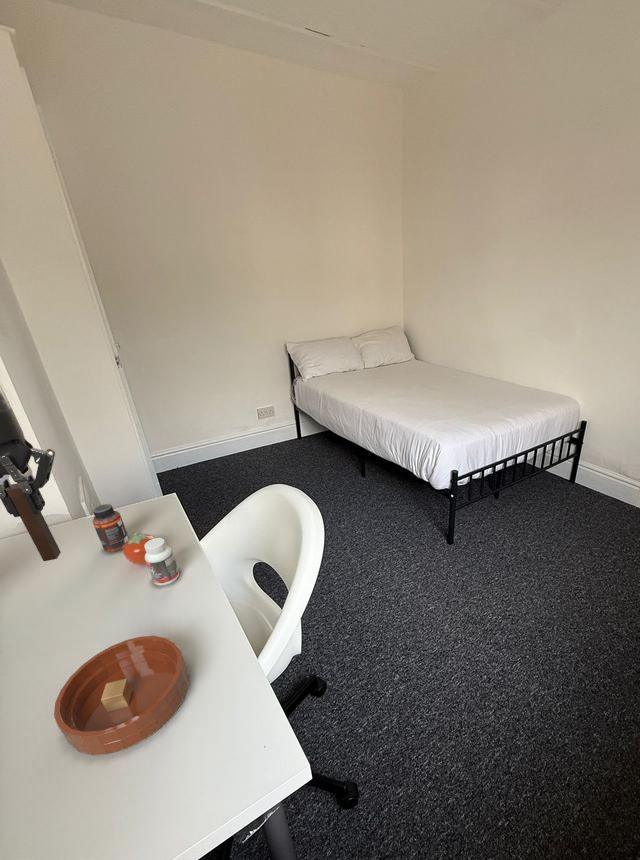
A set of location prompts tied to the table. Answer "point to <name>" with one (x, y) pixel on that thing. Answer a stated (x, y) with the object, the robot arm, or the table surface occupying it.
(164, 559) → the pill bottle
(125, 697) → the block
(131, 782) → the table surface
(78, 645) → the table surface
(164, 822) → the table surface
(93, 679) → the bowl
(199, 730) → the table surface
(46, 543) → the stick
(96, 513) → the supplement bottle
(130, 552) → the tomato
